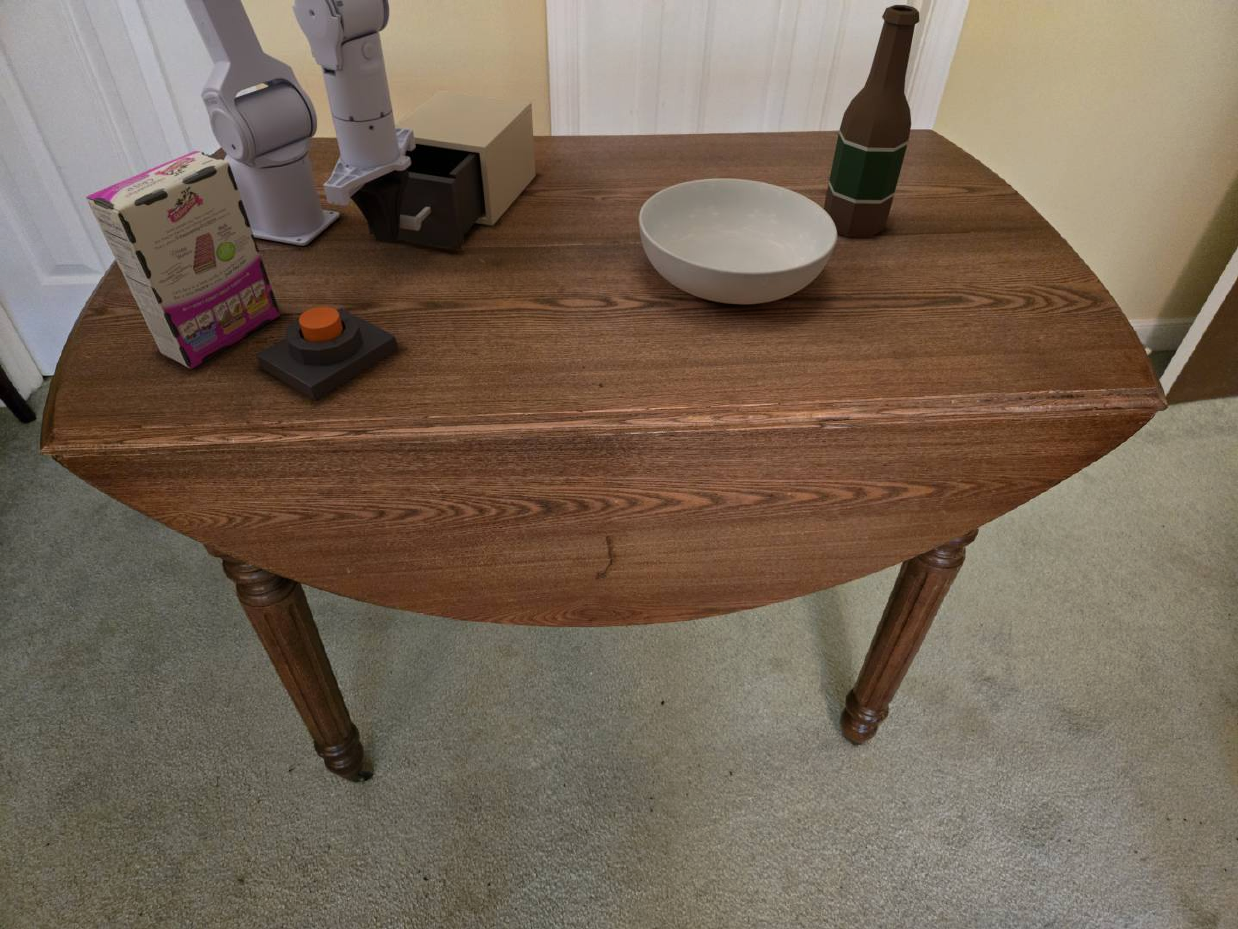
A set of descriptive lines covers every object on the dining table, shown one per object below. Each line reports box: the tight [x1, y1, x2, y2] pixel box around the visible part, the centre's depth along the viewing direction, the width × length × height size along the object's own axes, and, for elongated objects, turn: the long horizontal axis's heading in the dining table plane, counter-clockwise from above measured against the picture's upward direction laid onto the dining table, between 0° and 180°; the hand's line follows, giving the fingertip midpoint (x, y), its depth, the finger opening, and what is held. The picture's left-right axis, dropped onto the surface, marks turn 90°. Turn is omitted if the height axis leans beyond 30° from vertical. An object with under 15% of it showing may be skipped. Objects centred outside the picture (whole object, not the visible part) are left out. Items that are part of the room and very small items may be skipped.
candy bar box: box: [85, 150, 281, 370], centre depth 76 cm, size 11×5×16 cm, turn 148°
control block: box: [256, 308, 399, 402], centre depth 78 cm, size 10×8×4 cm
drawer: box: [364, 144, 486, 250], centre depth 94 cm, size 18×11×8 cm, turn 163°
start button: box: [298, 306, 343, 342], centre depth 76 cm, size 4×4×2 cm
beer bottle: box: [823, 4, 920, 239], centre depth 92 cm, size 8×8×24 cm
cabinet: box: [395, 89, 536, 227], centre depth 102 cm, size 15×13×10 cm
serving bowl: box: [638, 177, 838, 305], centre depth 89 cm, size 21×21×7 cm
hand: (387, 239), depth 88 cm, fingers closed
